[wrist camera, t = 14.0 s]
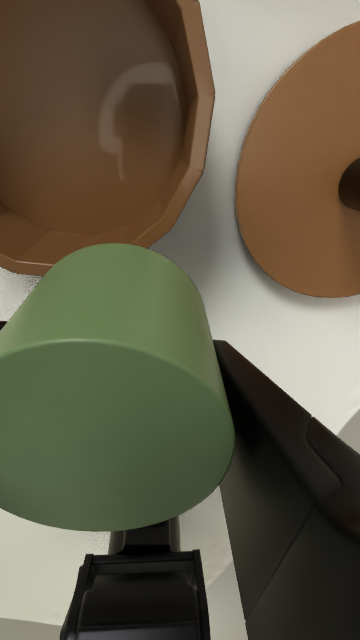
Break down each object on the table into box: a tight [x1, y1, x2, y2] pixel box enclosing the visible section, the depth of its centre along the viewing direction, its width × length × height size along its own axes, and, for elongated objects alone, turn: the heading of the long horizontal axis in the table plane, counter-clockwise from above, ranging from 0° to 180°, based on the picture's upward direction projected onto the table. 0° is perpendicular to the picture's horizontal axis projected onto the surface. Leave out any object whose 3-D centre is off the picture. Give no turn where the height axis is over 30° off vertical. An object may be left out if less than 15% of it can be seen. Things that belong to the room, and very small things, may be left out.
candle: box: [0, 243, 235, 532], centre depth 8 cm, size 5×5×4 cm
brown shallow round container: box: [0, 0, 215, 276], centre depth 13 cm, size 12×12×5 cm
